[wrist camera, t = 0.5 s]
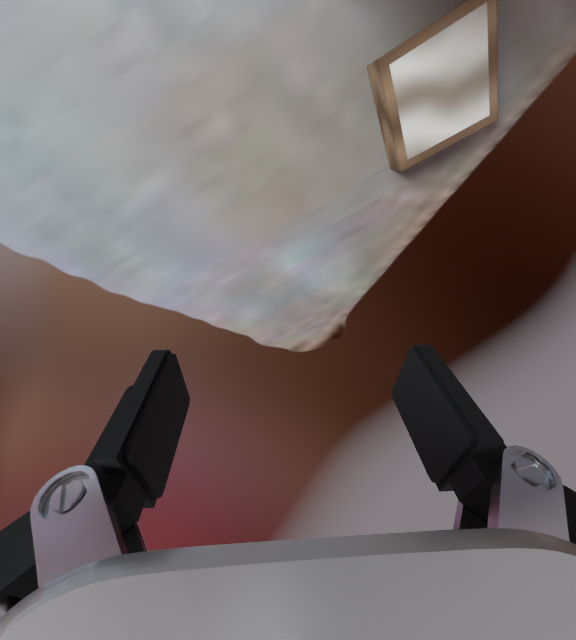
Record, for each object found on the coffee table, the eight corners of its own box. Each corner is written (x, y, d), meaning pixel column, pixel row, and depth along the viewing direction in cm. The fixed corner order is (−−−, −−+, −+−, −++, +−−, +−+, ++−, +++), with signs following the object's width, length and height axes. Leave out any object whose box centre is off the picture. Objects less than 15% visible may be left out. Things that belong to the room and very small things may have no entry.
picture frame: (366, 66, 31) (378, 58, 28) (470, -2, 28) (497, -20, 25) (390, 168, 37) (402, 171, 34) (476, 121, 35) (498, 119, 31)
